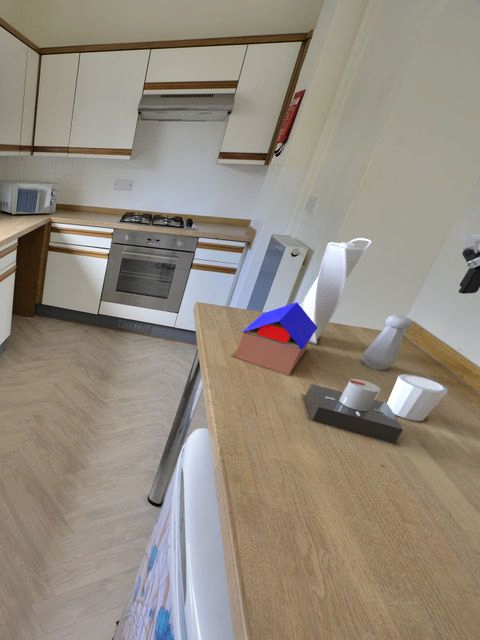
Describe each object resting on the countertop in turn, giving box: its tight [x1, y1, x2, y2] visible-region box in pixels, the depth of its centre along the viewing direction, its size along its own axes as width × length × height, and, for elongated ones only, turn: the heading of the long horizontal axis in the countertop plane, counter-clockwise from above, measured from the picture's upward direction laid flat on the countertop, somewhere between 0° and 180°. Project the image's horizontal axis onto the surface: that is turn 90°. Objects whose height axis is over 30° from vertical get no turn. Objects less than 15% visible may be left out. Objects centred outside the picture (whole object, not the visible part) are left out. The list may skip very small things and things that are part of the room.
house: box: [234, 301, 318, 376], centre depth 101 cm, size 12×20×12 cm, turn 134°
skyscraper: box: [299, 237, 373, 345], centre depth 108 cm, size 8×8×28 cm
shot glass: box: [386, 373, 449, 422], centre depth 80 cm, size 7×7×7 cm
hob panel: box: [305, 383, 404, 444], centre depth 79 cm, size 12×10×3 cm
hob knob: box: [339, 378, 381, 411], centre depth 77 cm, size 4×4×5 cm
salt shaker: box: [362, 314, 414, 371], centre depth 97 cm, size 6×6×13 cm
